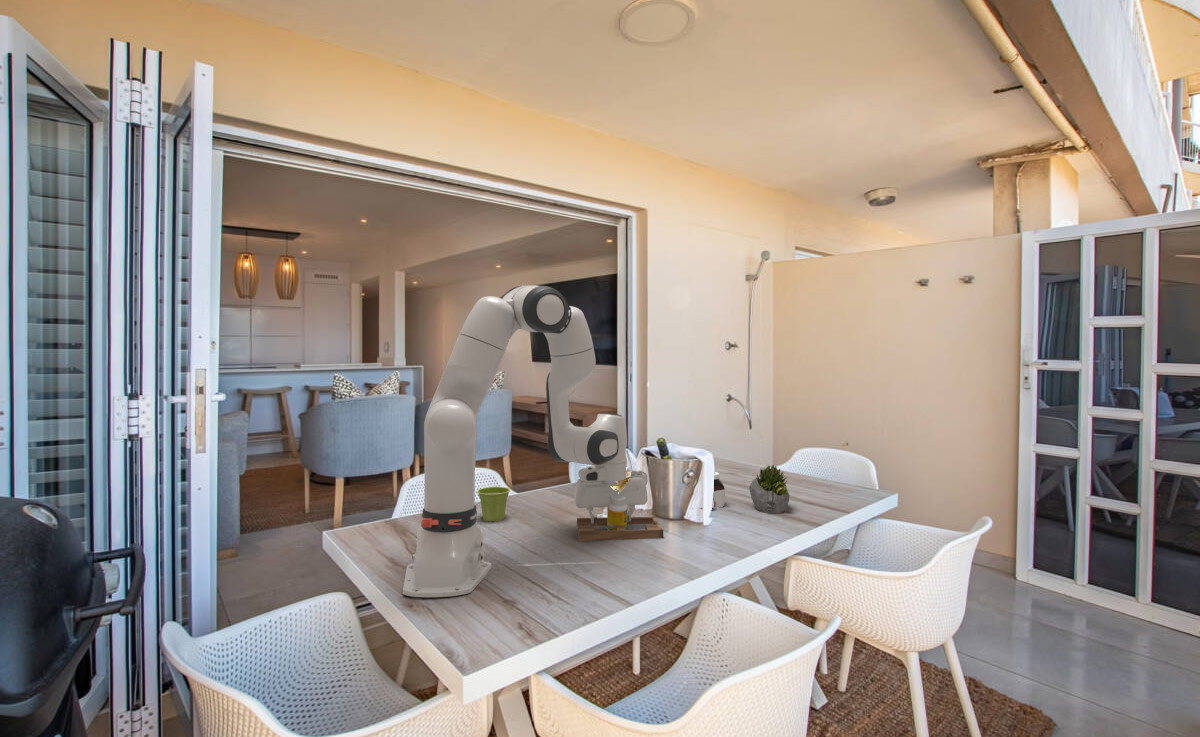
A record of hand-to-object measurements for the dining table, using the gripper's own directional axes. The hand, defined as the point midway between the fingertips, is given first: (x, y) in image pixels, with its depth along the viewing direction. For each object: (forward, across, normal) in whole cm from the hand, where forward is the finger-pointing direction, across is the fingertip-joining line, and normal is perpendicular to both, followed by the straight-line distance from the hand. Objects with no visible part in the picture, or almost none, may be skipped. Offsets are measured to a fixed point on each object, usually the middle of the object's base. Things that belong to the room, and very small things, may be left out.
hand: (610, 521), depth 154 cm
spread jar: (+3, -34, -15) cm, 37 cm away
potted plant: (+3, -52, -9) cm, 53 cm away
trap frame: (+2, -2, +3) cm, 4 cm away
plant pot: (+2, +32, -16) cm, 36 cm away
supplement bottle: (+2, -1, +1) cm, 3 cm away
